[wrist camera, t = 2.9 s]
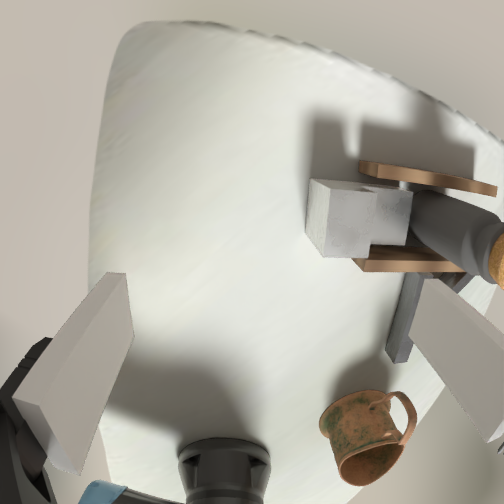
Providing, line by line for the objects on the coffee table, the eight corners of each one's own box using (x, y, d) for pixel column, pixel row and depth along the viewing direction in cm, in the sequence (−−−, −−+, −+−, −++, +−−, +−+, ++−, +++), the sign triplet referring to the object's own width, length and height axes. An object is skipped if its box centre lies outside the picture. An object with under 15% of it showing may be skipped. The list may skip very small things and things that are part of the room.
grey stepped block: (304, 232, 32) (322, 257, 25) (309, 178, 30) (330, 188, 23) (392, 236, 32) (424, 259, 26) (399, 187, 31) (435, 200, 24)
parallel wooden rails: (348, 255, 33) (363, 271, 29) (359, 160, 29) (378, 164, 25) (459, 258, 34) (480, 271, 30) (473, 179, 31) (497, 186, 26)
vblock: (383, 355, 38) (391, 368, 35) (409, 258, 33) (421, 267, 31) (435, 348, 39) (445, 360, 36) (463, 259, 34) (477, 268, 31)
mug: (414, 354, 39) (455, 411, 27) (374, 434, 44) (397, 488, 33) (341, 358, 38) (372, 428, 26) (311, 440, 43) (325, 501, 32)
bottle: (448, 193, 31) (543, 230, 17) (438, 241, 33) (524, 297, 19) (408, 185, 31) (506, 222, 16) (399, 238, 33) (485, 299, 18)
